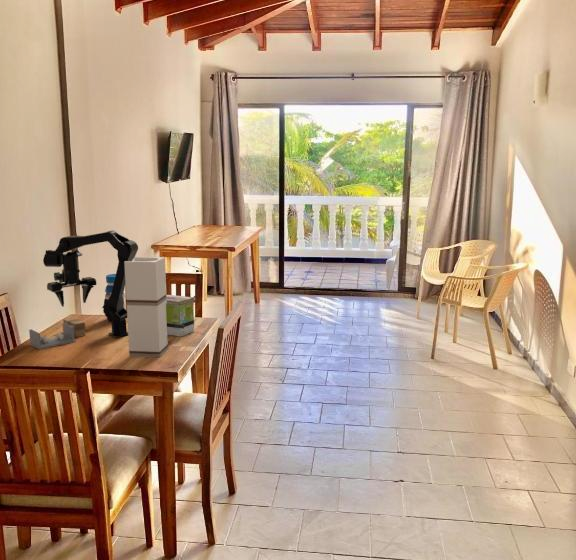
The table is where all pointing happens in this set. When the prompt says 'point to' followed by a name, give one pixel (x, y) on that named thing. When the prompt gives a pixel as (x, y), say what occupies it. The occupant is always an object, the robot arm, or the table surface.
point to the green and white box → (179, 315)
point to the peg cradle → (59, 340)
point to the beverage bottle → (111, 286)
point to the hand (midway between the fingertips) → (73, 304)
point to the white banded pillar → (146, 306)
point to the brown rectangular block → (76, 326)
